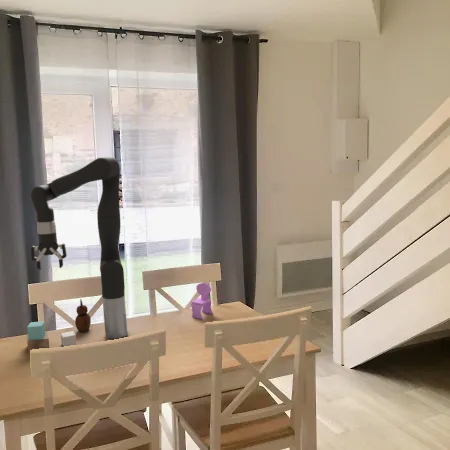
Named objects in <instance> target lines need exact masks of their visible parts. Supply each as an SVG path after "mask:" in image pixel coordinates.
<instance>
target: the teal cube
mask: <svg viewBox="0 0 450 450" xmlns="http://www.w3.org/2000/svg"><path fill="white" fill-rule="evenodd" d="M26 328H27V335H28V340H39V339H43V338H44V336H45V334H46V332H47V331H46V324H45V321H44V320H43V321H33V322H29V324H28V325H27V327H26Z"/></svg>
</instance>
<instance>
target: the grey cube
mask: <svg viewBox="0 0 450 450" xmlns="http://www.w3.org/2000/svg"><path fill="white" fill-rule="evenodd" d="M76 336H77V335H76V333H75V331H74V330H72V331H67V332H61V333H60V340H61V346H62V345H63V346H70V345H78V344H77V337H76ZM63 346H62V347H63Z"/></svg>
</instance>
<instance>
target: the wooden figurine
mask: <svg viewBox="0 0 450 450" xmlns="http://www.w3.org/2000/svg"><path fill="white" fill-rule="evenodd" d="M79 299H80V301H79V302H80V304H79V305H78V306H77V307H76V317H75V321H74V324H75V327H76V329H77V331H78V332H80V333H85V332H87V331H89V329H90V327H91V323H92V322H91V316H90V314H89V313H88V310H89V309H88V306H87V305H85V304H84V303H83V300H82V298H79Z"/></svg>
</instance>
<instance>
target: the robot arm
mask: <svg viewBox="0 0 450 450" xmlns="http://www.w3.org/2000/svg"><path fill="white" fill-rule="evenodd" d="M120 172H121V168H120V164H119V161H118V160H117V159H116V158H115V157H114V156H101V157H97V158H95V159H94V160H93V161H90V162H89V163H88V164H86V165H85V166H83V167H81V168H80V169H78V170H75V171H73V172H70V173H68V174H65V175H63V176H59V177H57V178H56V179H53V180H52V181H51V182H49V183H45V184H42V185H35V186H34V187H33V188H32V190H31V193H30V199H31V202H32V205H33V208H34V209H35V213H36V223H37V225H36V228H37V231H36V232H37V239H38V240H37V241H38V245H36V246H35V245H32V246H31V247H30V253H31V254H30V255H31V256H30V257H31V261H35V262H36V269H38V270H39V271H40V270H42V262H41V259H42V257H43V255H44V256H53V255H54V256H55V257H57V258H58V262H59V263H58V265H59V266H58V267H59V268H60V269H61V268H62V267H63V266H64V261H63V260H64V259H66V257H67V249H66V243H64V242H63V243H62V244H58V237H57V228H56V227H57V226H56V222H55V212H54V208H52V207H50V206H49V204H48V202H51V201H52V200H54V199H57V198H59V197H60V196H62V195H65V194H68V193H70V192H71V193H72V192H73V191H75V190H77V189H78V188H80V187H81V186H83V185H85V184H88V183H91V182H96V181H101V185H102V190H101V191H102V192H101V195H100V199H99V203H98V207H97V212H96V213H97V215H96V217H97V218H96V219H97V229H98V237H99V242H100V263H99V271H100V282H101V296H102V310H103V321H104V333H105V335H104V336H105V338H108V339H112V340H114V339H120V338H124V337H128V336H129V335H128V334H129V333H128V324H127V323H128V322H127V321H128V319H127V309H126V295H125V294H126V293H125V290H126V289H125V287H126V286H125V285H126V284H125V274H124V273H125V272H124V270H125V269H124V267H123V265H122V261H121V255H120V248H119V243H120V238H121V237H120V236H121V209H120V176H121V175H120V174H121V173H120ZM59 248H60V249H61V251H62V254H61V253H60V252H59V251H58V249H59ZM37 251H39V252H40V254H38V256H37V257H36V252H37Z"/></svg>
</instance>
